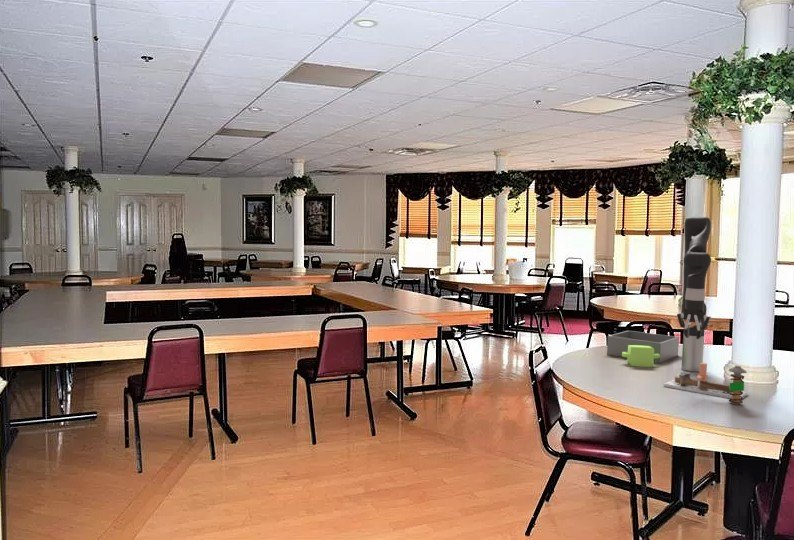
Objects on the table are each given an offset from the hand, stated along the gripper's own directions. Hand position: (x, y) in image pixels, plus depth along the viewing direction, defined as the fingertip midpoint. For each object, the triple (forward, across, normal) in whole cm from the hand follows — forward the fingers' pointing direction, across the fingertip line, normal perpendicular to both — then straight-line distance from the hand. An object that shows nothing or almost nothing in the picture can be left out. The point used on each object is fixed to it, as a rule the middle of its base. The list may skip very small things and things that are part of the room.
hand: (692, 338), depth 275 cm
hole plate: (+21, -7, +3) cm, 23 cm away
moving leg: (+20, -5, +2) cm, 20 cm away
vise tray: (+21, +41, -55) cm, 72 cm away
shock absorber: (+21, -22, +16) cm, 35 cm away
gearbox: (+22, +32, -29) cm, 48 cm away
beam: (+20, -7, +2) cm, 21 cm away
